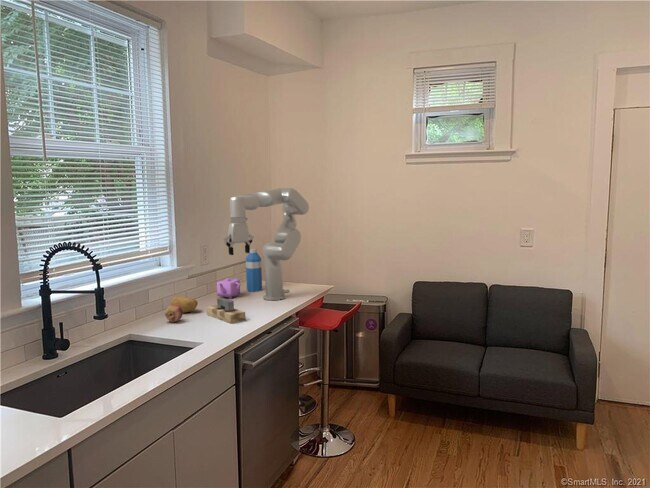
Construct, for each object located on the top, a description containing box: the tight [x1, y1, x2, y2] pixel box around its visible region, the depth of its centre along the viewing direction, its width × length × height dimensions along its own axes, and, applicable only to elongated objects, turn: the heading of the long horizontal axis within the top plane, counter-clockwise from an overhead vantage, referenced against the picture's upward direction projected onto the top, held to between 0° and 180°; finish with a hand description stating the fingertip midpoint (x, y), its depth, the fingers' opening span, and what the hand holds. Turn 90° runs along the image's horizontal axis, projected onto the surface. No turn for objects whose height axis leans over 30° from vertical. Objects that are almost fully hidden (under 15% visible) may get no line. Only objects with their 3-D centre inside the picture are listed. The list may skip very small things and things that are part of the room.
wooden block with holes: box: [206, 304, 246, 324], centre depth 238 cm, size 8×22×4 cm, turn 42°
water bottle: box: [245, 248, 263, 293], centre depth 299 cm, size 9×9×25 cm
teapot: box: [216, 277, 241, 300], centre depth 282 cm, size 15×13×11 cm
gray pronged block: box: [216, 297, 235, 312], centre depth 238 cm, size 10×3×8 cm, turn 42°
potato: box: [170, 295, 198, 314], centre depth 250 cm, size 10×14×8 cm
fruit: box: [164, 304, 183, 323], centre depth 232 cm, size 8×8×8 cm
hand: (239, 253), depth 254 cm, fingers open, 9 cm apart
